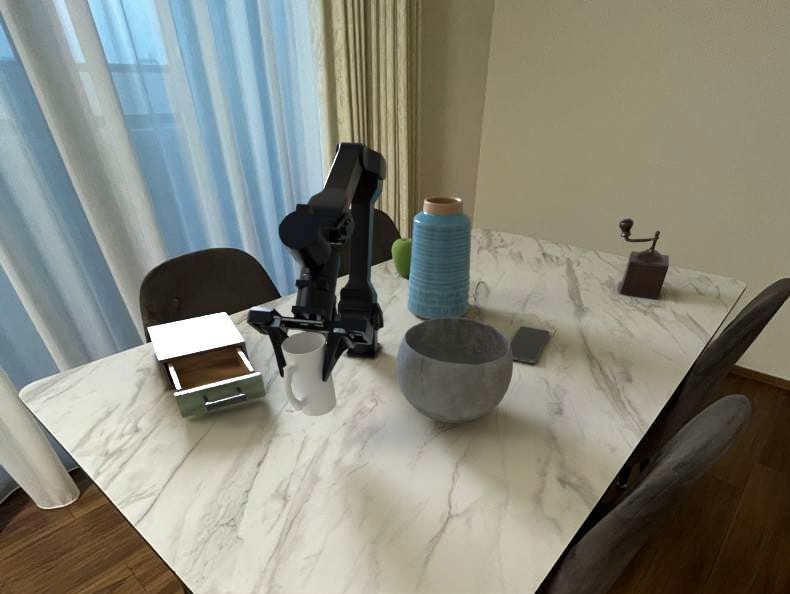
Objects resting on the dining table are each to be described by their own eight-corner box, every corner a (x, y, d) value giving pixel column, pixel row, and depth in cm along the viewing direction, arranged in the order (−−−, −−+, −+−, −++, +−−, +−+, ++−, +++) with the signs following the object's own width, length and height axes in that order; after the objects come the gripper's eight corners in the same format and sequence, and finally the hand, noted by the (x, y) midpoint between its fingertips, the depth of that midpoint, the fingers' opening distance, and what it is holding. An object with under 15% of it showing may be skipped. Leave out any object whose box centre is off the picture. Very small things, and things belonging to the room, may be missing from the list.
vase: (397, 316, 122) (397, 203, 105) (420, 294, 134) (423, 190, 117) (457, 327, 117) (467, 211, 101) (475, 303, 129) (486, 196, 112)
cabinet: (251, 369, 101) (244, 341, 96) (168, 389, 94) (158, 360, 90) (231, 338, 112) (225, 312, 108) (156, 354, 105) (147, 327, 101)
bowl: (476, 458, 78) (486, 380, 69) (375, 419, 87) (372, 345, 77) (521, 400, 92) (534, 329, 82) (430, 371, 100) (433, 304, 91)
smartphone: (502, 354, 104) (520, 325, 116) (502, 358, 105) (519, 329, 116) (535, 361, 102) (550, 330, 113) (534, 365, 103) (549, 334, 114)
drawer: (272, 406, 88) (268, 384, 85) (186, 431, 82) (178, 408, 79) (244, 361, 101) (239, 341, 98) (168, 379, 95) (161, 358, 92)
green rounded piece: (419, 281, 142) (420, 241, 135) (391, 280, 142) (391, 241, 135) (418, 271, 149) (419, 232, 142) (392, 271, 149) (392, 232, 142)
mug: (312, 389, 83) (297, 328, 74) (345, 397, 80) (333, 334, 72) (279, 425, 76) (259, 362, 68) (315, 434, 74) (298, 370, 66)
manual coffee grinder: (658, 286, 140) (681, 222, 129) (658, 300, 132) (682, 232, 121) (603, 279, 145) (621, 216, 133) (600, 291, 137) (618, 225, 125)
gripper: (384, 307, 80) (372, 396, 79) (281, 298, 83) (267, 385, 81) (372, 277, 69) (357, 380, 68) (253, 269, 72) (237, 368, 70)
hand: (303, 379), depth 72 cm, fingers closed on mug, 6 cm apart
